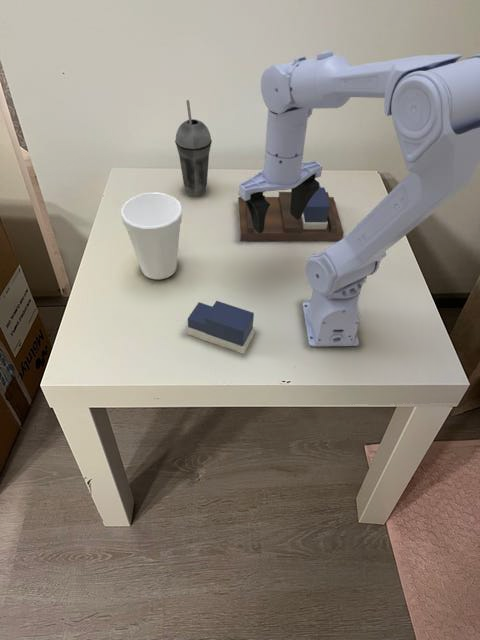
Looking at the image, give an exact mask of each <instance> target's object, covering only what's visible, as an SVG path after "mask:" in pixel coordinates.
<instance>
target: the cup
mask: <svg viewBox="0 0 480 640" xmlns="http://www.w3.org/2000/svg"><path fill="white" fill-rule="evenodd" d="M182 217H183V205H182V203H181V202H180V201H179V199H178V198H175V197H174V196H172V195H171V194H168V193H164V192H160V191H158V192H153V191H152V192H143V193H140V194H136V195H134V196H132V197H130V198H129V199H127V200H126V201H125V202H124V204H123V205H122V206H121V209H120V218H121V220H122V223H123V225H124V227H125V229H126V232H127V234H128V237H129V240H130V242H131V245H132V248H133V250H134V253H135V255H136V259H137V261H138V264H139V267H140V270H141V272H142V273H143V275H144V276H145V277H147V278H148V279H152V280H164V279H167V278H168V279H169V277H171V276H173V275H174V273H176V270H177V264H178V253H179V241H180V230H181V223H182Z"/></svg>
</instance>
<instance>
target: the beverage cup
mask: <svg viewBox="0 0 480 640" xmlns="http://www.w3.org/2000/svg"><path fill="white" fill-rule="evenodd" d="M186 107H187V108H186V109H187V117H188V119H187V120H185V121H183V122H182V123H181V124H180V125H179V126H178V128H177V130H176V134H175V140H174V142H175V143H174V144H175V145H176V146H175V147H176V148H177V152H178V157H179V162H180V170H181V175H182V181H183V186H184V191H185V192H184V193H185V194H186V195H187V196H189V197H192V198H199V197H202V196H205V194H206V193H207V186H208V175H209V174H208V173H209V162H210V161H209V159H210V152H211V146H212V143H213V140H212V136H211V133H210V131H209V128H208V126H206V124H205V123H204V122H203V121H201V120H198V119H193V118H192V113H191V105H190V100H189V99H186Z"/></svg>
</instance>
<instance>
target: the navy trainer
mask: <svg viewBox="0 0 480 640" xmlns="http://www.w3.org/2000/svg"><path fill="white" fill-rule="evenodd" d="M254 316H255V313H254V312H252V311H250V310H246V309H244V308H241V307H237V306H234V305H231V304H228V303H226V302H222V301H220V300H216V301H215V302H214V304H213V305H209V304H206V303H203V302H200V301H198V302H197V304H196V306H194V308H193V310H192V311H191V313H190V314H189V316H188V318H187V326H186V328H185V330H186V335H189V336H191V337H194V338H197V339H200V340H202V341H205V342H208V343H211V344H214V345H217V346H220V347H223V348H226V349H228V350H231V351H234V352H237V353H238V354H242V355H245V353H246V351H247V349H248V347H249V345H250V344H251V341H252V340H253V338H254V336H255V333H256V327H254Z"/></svg>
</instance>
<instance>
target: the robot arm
mask: <svg viewBox="0 0 480 640" xmlns="http://www.w3.org/2000/svg"><path fill="white" fill-rule="evenodd" d="M462 57H464V55H463V54H459V53H458V54H457V53H445V54H426V55H414V56H407V57H401V58H394V59H388V60H387V59H386V60H382V61H381V60H380V61H375V62H370V63H369V62H368V63H362V64H357V65H352V64H351V62H350V61H349V60H348V59H347V58H346V57H344V56H341V55H334V51H333V50H327V51H321V52H318V53H317V54H316V58H311V59H309V58H308V59H307V56H306V55H303V56H302V55H301V56H298V57H294V59H293V61H289V62H284V63H280V64H272V65H270V66H268V67H267V68H265V70H264V71H263V73H262V75H261V77H260V78H261V79H260V92H261V97H262V100H263V102H264V104H265V106H266V107H267V119H266V120H267V122H266V134H265V148H264V149H265V150H264V162H263V167H262V168H263V170H261V171H259V172H258V173H257V174H255V175H254V176H252V177H250V178H249V179H247V180H246V181H244V182H240V183H238V197H241V198H242V199H243V200H244V201H245V202H246V204H247V206H248V209H249V211H250V214H251V218H252V223H253V228H254V229H255V230H256V231H257V232H258V233H262V232H263V230H264V224H265V216H266V213H267V210H268V208H269V206H270V204H269V203H268V202H267V201H266V200H265V197H266V196H265V195H264V193H265V192H279V191H289V190H291V191H290V192H291V205H290V213H291V215H292V216H293V217H294V218H296V219H297V220H299V219H300V218H301V216H302V214H303V212H304V209H305V207H306V205H307V204H308V202H309V200H310V199H311V197H312V196H313V195H314V194H315V193H316V192H317V191H318V190H319V186H321V185H320V182H319V181H318V180H317V178H320V177H322V173H323V165H322V164H320V163H319V162H318V161H317V160H312V161H308V162H307V161H305V162H303V159H304V157H303V156H304V149H305V143H306V134H307V127H308V120H309V118H310V117H311V115H313V109H314V110H315V109H317V110H318V109H319V110H321V109H339V108H342V107H343V106H345V105H346V104H347V103H348V102H349V100H350V98H369V99H370V98H371V99H374V98H375V99H384V103H383V104H384V105H383V107H384V110H383V111H384V114H385V116H387V117H390V116H391V119H392V122H393V123H392V124H393V127H394V131H395V134H396V137H397V140H398V143H399V144H398V145H399V147H400V150H401V154H402V158H403V161H404V164H405V167H406V170H407V171H408V174H406V176H405V177H404V178H402V180H401V181H400V182H399V183H398V184H397V185H396V186H394V188H393V189H392V190H391V191H390V192H388V194H387V195H386V196H384V198H383V199H382V200H381V201H379V203H378V204H377V205H376V206H374V208H373V209H372V210H370V212H368V214H366V215H365V216H364V218H363V219H361V220H360V222H359V223H357V224H356V225H355V227H353V229H352V230H351V231H349V233H347V235H346V236H344V237H343V238H342V240H340V241H336V242H335V243H334V244H332V245H330V246H329V247H327V248H325V249H324V250H323V251H321V252H318V253H313V254H311V255H309V256H308V257H307V259H306V262H305V275H306V279H307V281H308V283H309V285H310V286H311V287H312V290H311V296H310V301H302V304H301V305H302V312H303V317H304V324H305V330H306V335H307V341H308V345H309V347H358V346H359V345H360V341H359V338H358V333H357V332H358V330H359V326H360V323H361V315H360V310H359V298H360V295H361V292H362V288H363V285H364V284H365V283H366V282H367V278H368V276H372V275H374V274H376V273H377V271H378V270H379V268H380V264H381V262H382V260H383V259H384V258H386V257H387V251H388V250H389V249H390V248H392V247H393V246H394V245H395V244H397V243H398V242H399V241H401V239H403V238H404V237H405V236H406V235H408V234H409V233H410V232H411V231H413V230H414V229H415V228H416V227H418V226H419V225H420V224H421V223H422V222H424V221H425V220H426V219H428V218H429V217H430V216H431V215H432V214H434V213H435V212H436V211H437V210H439V209H440V208H441V207H442V206H444V205H445V204H446V203H447V202H449V201H450V200H451V199H453V198H454V197H455V196H456V195H458V194H459V193H460V192H461V191H462V190H464V189H465V188H466V187H467V186H468V184H469V183H470V182H471V181H472V179H473V177H474V174H475V173H476V169H477V167H478V165H479V162H480V53H479V54H474V55H471V56H468V57H466V58H465V59H463V60H460V59H461V58H462ZM459 60H460V61H459Z"/></svg>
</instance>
